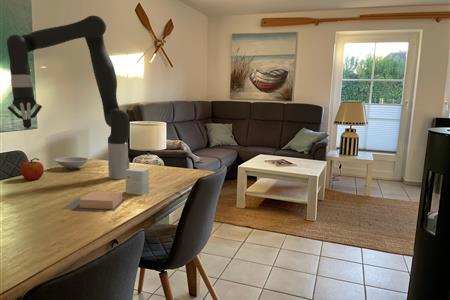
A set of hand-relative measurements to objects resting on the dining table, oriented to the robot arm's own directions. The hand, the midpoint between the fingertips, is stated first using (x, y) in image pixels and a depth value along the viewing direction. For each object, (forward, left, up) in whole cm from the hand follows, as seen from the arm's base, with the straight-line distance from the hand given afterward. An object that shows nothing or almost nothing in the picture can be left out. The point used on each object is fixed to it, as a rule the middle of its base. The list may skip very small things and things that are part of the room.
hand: (27, 128), depth 146 cm
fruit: (-2, -15, -26) cm, 30 cm away
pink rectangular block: (-15, +36, -23) cm, 45 cm away
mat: (-18, +38, -25) cm, 49 cm away
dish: (-22, -31, -26) cm, 46 cm away
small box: (-37, +30, -26) cm, 54 cm away
